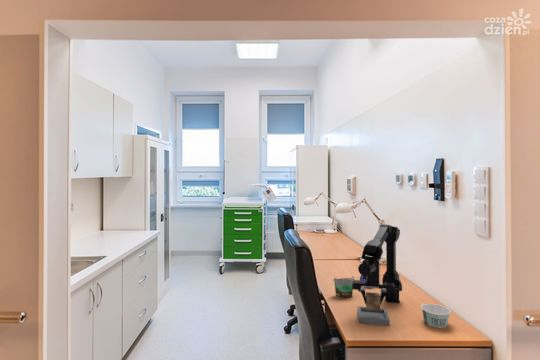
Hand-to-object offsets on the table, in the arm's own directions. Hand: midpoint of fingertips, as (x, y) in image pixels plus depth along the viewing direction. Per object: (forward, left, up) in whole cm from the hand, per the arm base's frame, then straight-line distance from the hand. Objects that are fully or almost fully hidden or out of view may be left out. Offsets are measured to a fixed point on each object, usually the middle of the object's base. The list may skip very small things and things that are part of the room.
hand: (372, 304), depth 151 cm
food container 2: (-27, -1, -7) cm, 28 cm away
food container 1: (+12, -25, -7) cm, 28 cm away
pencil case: (-2, -53, -7) cm, 53 cm away
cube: (0, 0, -2) cm, 2 cm away
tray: (0, 0, -6) cm, 6 cm away
